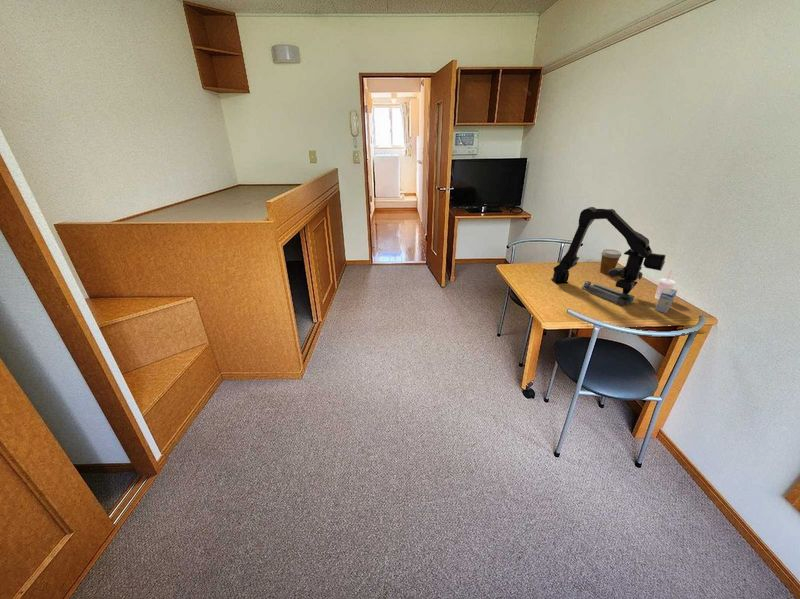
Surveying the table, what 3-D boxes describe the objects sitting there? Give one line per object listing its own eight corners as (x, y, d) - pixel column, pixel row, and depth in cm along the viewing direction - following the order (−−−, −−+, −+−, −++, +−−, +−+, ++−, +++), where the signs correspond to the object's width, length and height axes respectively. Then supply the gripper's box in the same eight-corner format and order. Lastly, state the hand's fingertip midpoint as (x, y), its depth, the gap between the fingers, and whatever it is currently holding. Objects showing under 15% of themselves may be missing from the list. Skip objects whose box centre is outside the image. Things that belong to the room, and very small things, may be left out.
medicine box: (658, 304, 151) (665, 287, 147) (670, 307, 148) (677, 290, 145) (654, 310, 146) (661, 292, 143) (666, 313, 144) (673, 295, 140)
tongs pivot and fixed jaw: (578, 288, 169) (580, 281, 167) (585, 286, 171) (587, 279, 169) (622, 306, 150) (624, 299, 149) (629, 304, 152) (631, 297, 150)
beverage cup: (660, 301, 154) (671, 273, 147) (649, 296, 159) (659, 268, 153) (672, 300, 154) (683, 272, 148) (660, 295, 160) (670, 267, 154)
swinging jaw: (591, 289, 166) (592, 284, 165) (594, 288, 167) (596, 283, 166) (629, 303, 152) (631, 297, 151) (632, 302, 153) (634, 296, 152)
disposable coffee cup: (619, 275, 182) (625, 254, 177) (602, 275, 183) (607, 254, 177) (610, 269, 191) (615, 249, 186) (593, 269, 191) (598, 249, 186)
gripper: (619, 255, 161) (611, 285, 168) (607, 266, 149) (599, 297, 156) (647, 261, 153) (637, 291, 161) (635, 272, 142) (626, 305, 149)
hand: (624, 296), depth 157 cm, fingers closed
